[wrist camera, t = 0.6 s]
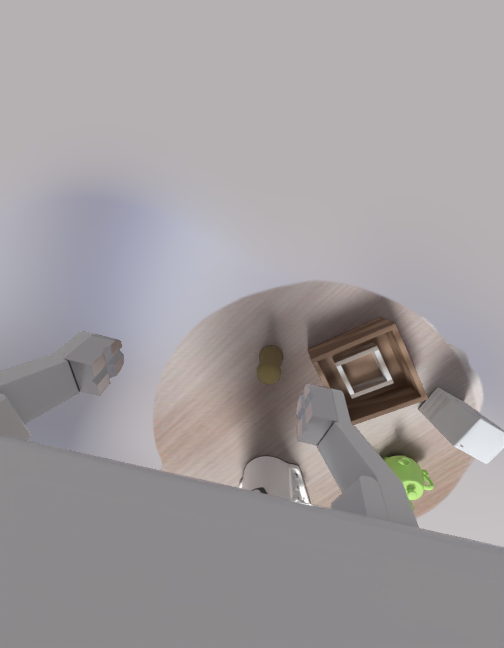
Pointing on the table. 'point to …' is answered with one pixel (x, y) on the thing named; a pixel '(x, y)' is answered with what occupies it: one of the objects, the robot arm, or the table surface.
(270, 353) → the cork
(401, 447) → the table surface
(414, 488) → the teapot
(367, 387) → the walled box
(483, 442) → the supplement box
